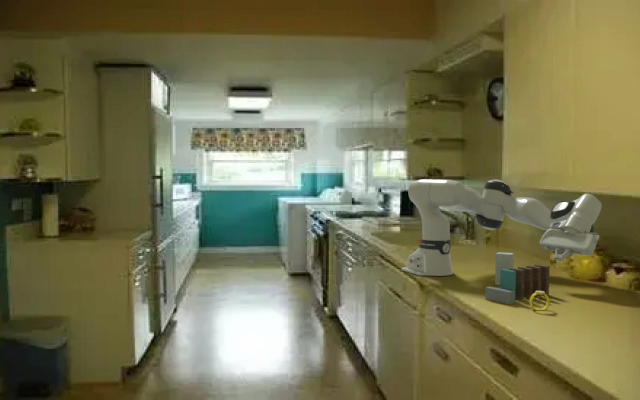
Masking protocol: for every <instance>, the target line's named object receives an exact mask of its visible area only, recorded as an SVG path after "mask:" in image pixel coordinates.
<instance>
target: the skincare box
mask: <svg viewBox="0 0 640 400" xmlns="http://www.w3.org/2000/svg"><path fill="white" fill-rule="evenodd" d="M494 264H495V267H494V269H495V274H494V275H495V278H494V279H495V280H494V281H495V282H494V283H495V284H494V285H495V286H500V270H501V269H506V270H509V268H515V253H513V252H496V253H495V263H494Z"/></svg>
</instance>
